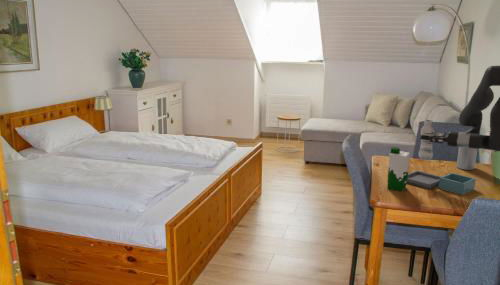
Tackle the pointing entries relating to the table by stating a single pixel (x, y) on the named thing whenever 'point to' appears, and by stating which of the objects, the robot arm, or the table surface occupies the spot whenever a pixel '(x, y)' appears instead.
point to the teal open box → (457, 183)
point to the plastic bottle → (426, 141)
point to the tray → (423, 179)
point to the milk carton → (398, 169)
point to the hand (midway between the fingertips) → (422, 135)
